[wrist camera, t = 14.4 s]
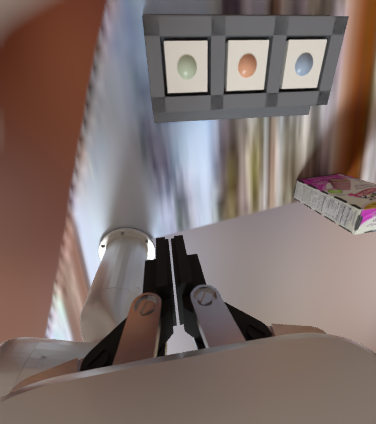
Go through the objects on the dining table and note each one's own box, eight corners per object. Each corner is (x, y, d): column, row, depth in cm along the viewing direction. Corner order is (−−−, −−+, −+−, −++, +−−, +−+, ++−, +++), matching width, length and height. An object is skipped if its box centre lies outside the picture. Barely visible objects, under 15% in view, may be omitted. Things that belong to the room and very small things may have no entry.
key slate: (304, 89, 34) (317, 87, 31) (271, 90, 33) (282, 88, 31) (312, 45, 31) (328, 39, 28) (277, 46, 31) (289, 39, 28)
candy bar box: (341, 171, 44) (430, 198, 30) (335, 192, 47) (416, 226, 32) (295, 178, 44) (363, 209, 29) (291, 198, 46) (354, 237, 31)
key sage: (203, 93, 32) (207, 91, 29) (167, 94, 32) (167, 92, 29) (203, 47, 29) (207, 40, 27) (163, 47, 29) (163, 40, 26)
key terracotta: (255, 91, 33) (264, 89, 30) (220, 92, 32) (226, 90, 30) (259, 46, 30) (269, 39, 28) (222, 47, 30) (228, 40, 27)
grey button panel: (305, 114, 38) (324, 114, 33) (154, 122, 35) (154, 123, 30) (324, 17, 31) (352, 1, 27) (143, 17, 28) (140, -1, 24)
